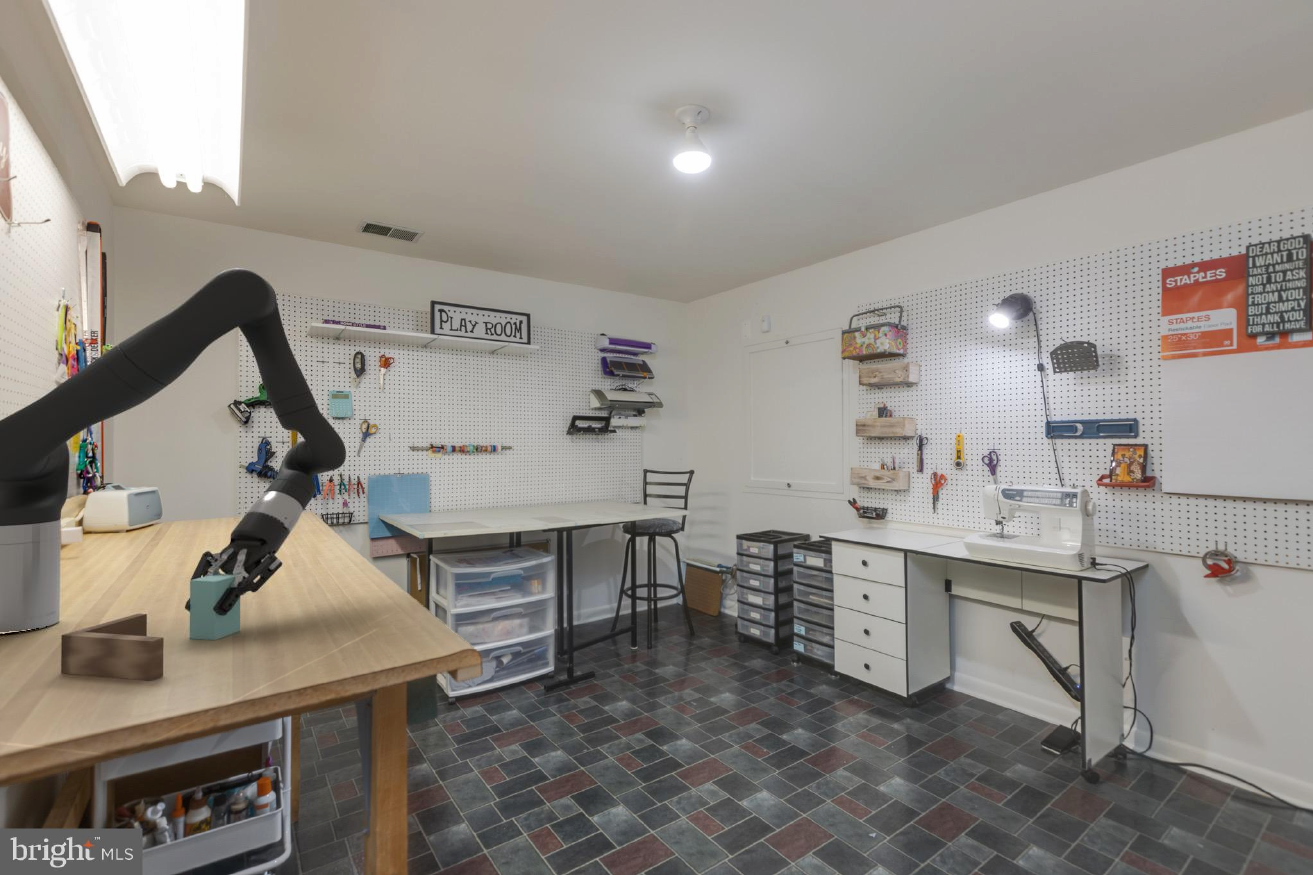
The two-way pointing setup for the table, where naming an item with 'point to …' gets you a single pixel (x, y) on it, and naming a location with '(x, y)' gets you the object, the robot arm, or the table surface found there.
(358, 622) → the table surface
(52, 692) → the table surface
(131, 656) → the walnut corner
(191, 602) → the teal block
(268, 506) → the robot arm
